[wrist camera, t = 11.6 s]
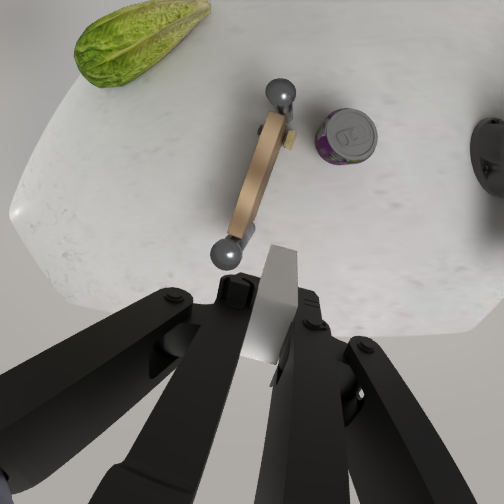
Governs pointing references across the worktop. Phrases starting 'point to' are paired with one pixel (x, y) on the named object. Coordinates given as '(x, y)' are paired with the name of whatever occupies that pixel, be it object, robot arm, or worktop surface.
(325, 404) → the robot arm
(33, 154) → the worktop surface
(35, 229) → the worktop surface
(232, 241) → the hinge post
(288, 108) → the post
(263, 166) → the gate
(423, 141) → the worktop surface
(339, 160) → the beverage can
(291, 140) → the tan textured block
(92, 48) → the lettuce
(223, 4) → the worktop surface
